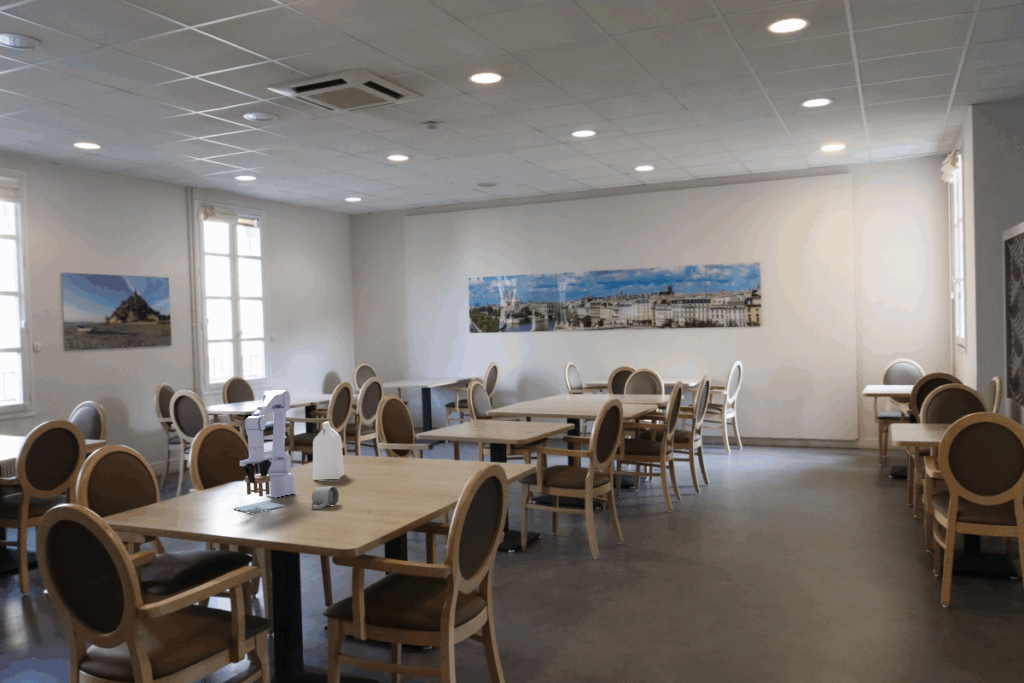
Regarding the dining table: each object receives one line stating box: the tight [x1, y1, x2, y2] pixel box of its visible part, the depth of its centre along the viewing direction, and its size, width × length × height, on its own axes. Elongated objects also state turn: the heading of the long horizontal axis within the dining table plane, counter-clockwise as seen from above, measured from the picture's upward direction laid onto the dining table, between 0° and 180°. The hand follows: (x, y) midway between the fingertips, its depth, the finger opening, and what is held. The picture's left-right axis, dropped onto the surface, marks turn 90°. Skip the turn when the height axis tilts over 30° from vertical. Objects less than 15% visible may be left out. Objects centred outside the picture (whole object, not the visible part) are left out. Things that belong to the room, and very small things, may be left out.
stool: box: [244, 474, 271, 497], centre depth 298 cm, size 9×5×7 cm, turn 57°
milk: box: [312, 421, 345, 480], centre depth 357 cm, size 12×12×26 cm
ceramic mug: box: [310, 485, 340, 510], centre depth 296 cm, size 11×8×8 cm
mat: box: [234, 500, 286, 514], centre depth 298 cm, size 14×14×1 cm
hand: (257, 481), depth 298 cm, fingers closed on stool, 5 cm apart
